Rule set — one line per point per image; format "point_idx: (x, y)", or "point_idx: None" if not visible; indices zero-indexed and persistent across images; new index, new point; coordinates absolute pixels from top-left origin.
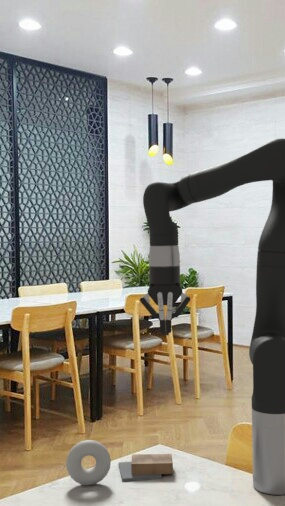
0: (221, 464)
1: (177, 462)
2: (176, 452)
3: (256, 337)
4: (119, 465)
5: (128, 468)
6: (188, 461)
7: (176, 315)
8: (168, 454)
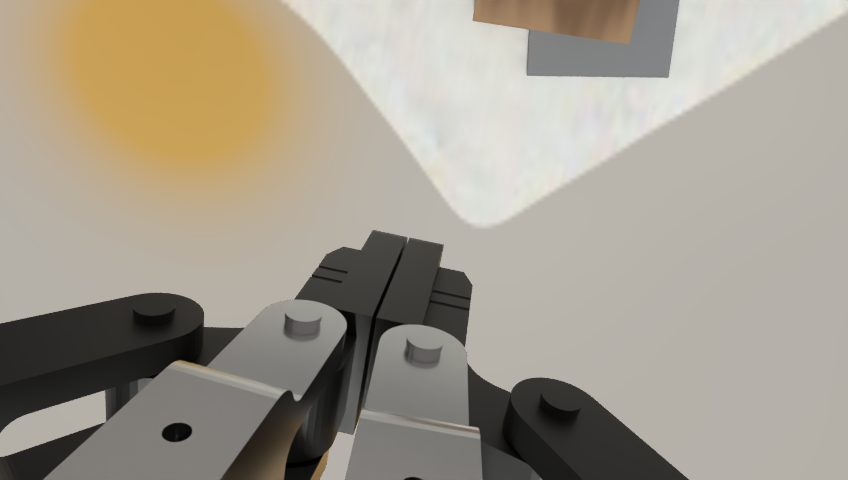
0: (298, 8)
1: (447, 60)
2: (431, 158)
3: None
4: (671, 45)
5: (644, 7)
6: (406, 62)
7: (154, 303)
8: (486, 15)
